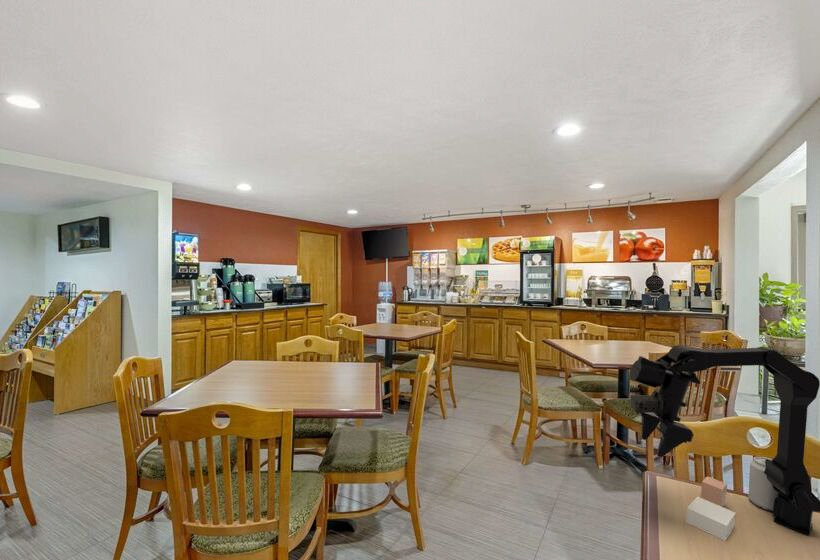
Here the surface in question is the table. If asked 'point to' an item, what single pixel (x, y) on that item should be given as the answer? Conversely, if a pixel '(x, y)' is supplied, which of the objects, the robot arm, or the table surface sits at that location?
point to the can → (761, 485)
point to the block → (714, 491)
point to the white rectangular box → (710, 518)
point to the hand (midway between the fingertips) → (651, 447)
